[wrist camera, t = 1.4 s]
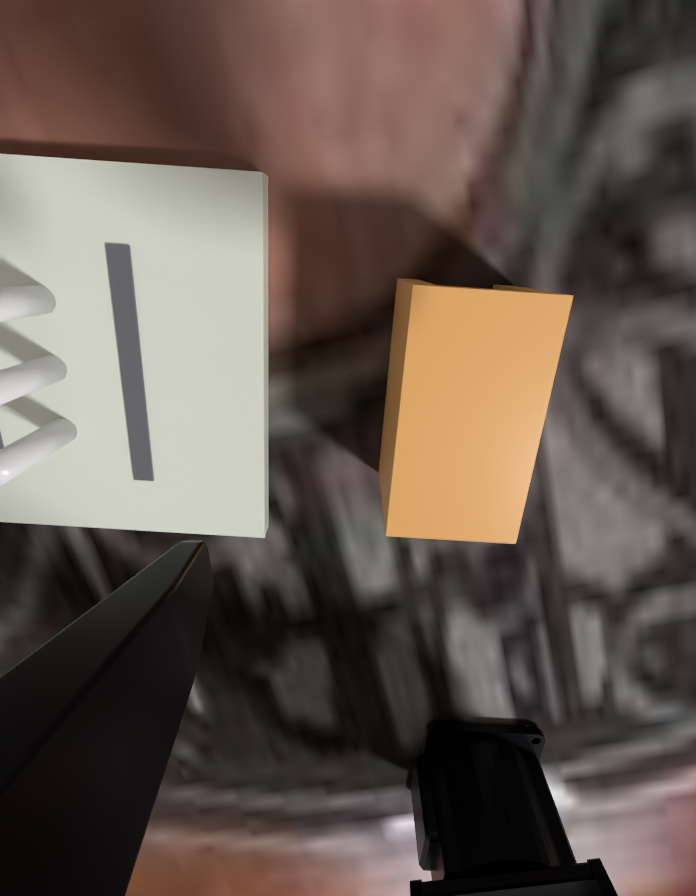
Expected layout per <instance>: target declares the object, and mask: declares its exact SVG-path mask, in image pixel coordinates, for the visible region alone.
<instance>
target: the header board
mask: <svg viewBox="0 0 696 896" xmlns="http://www.w3.org/2000/svg"><path fill="white" fill-rule="evenodd" d="M0 522H10V523H27V524H43V525H60V526H76V527H93V528H109V529H126V530H142V531H159V532H175V533H192V534H208V535H225V536H241V537H258V538H265V535H266V532H267V529H268V526H269V494H268V176H267V175H266V174H264V173H263V172H257V171H242V170H228V169H213V168H199V167H185V166H170V165H156V164H141V163H127V162H113V161H98V160H84V159H69V158H55V157H41V156H26V155H12V154H0Z"/></svg>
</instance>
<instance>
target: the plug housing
mask: <svg viewBox="0 0 696 896" xmlns="http://www.w3.org/2000/svg"><path fill="white" fill-rule="evenodd" d="M572 299H573V295H567V294H561V293H555V292H548V291H542V290H536V289H530V288H524V287H518V286H507V285H493V289H485V288H470V287H455V286H440V285H435V284H432V283H428V282H425V281H422V280H418V279H403V278H397V286H396V296H395V307H394V317H393V328H392V338H391V349H390V359H389V369H388V380H387V390H386V401H385V411H384V422H383V432H382V442H381V453H380V463H379V481H380V489H381V498H382V507H383V516H384V525H385V534H386V536H393V537H410V538H426V539H443V540H459V541H476V542H492V543H508V544H516V541H517V537H518V532H519V528H520V524H521V519H522V515H523V511H524V506H525V502H526V498H527V493H528V489H529V485H530V481H531V476H532V472H533V468H534V463H535V459H536V455H537V450H538V446H539V442H540V437H541V433H542V429H543V424H544V420H545V416H546V412H547V407H548V403H549V399H550V394H551V390H552V386H553V381H554V377H555V373H556V368H557V364H558V360H559V355H560V351H561V347H562V343H563V338H564V334H565V330H566V325H567V321H568V317H569V312H570V308H571V304H572Z"/></svg>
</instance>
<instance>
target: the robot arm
mask: <svg viewBox="0 0 696 896" xmlns="http://www.w3.org/2000/svg"><path fill="white" fill-rule="evenodd" d="M212 592H213V574H212V568H211V563H210V558H209V553H208V548H207V545H206V543H205V542H203V541H181V542H179V543H178V544H176V545H175V546H174V547H172V548H171V549H170V550H168V551H167V552H166V553H164V554H163V555H162V556H160V557H159V558H158V559H156V560H155V561H154V562H152V563H151V564H150V565H148V566H147V567H146V568H144V569H143V570H142V571H140V572H139V573H138V574H136V575H135V576H134V577H132V578H131V579H130V580H128V581H127V582H126V583H124V584H123V585H122V586H120V587H119V588H118V589H116V590H115V591H114V592H112V593H111V594H110V595H108V596H107V597H106V598H104V599H103V600H102V601H100V602H99V603H98V604H96V605H95V606H94V607H93V608H91V609H90V610H89V611H87V612H86V613H85V614H83V615H82V616H81V617H79V618H78V619H77V620H75V621H74V622H73V623H71V624H70V625H69V626H67V627H66V628H65V629H63V630H62V631H61V632H59V633H58V634H57V635H55V636H54V637H53V638H51V639H50V640H49V641H47V642H46V643H45V644H43V645H42V646H41V647H39V648H38V649H37V650H35V651H34V652H33V653H31V654H30V655H29V656H27V657H26V658H25V659H23V660H22V661H21V662H19V663H18V664H17V665H15V666H14V667H13V668H11V669H10V670H9V671H7V672H6V673H5V674H3V675H2V676H1V677H0V896H125V894H126V891H127V888H128V885H129V882H130V879H131V875H132V872H133V869H134V866H135V863H136V860H137V857H138V854H139V851H140V847H141V844H142V841H143V838H144V835H145V832H146V829H147V826H148V822H149V819H150V816H151V813H152V810H153V807H154V804H155V801H156V798H157V794H158V791H159V788H160V785H161V782H162V779H163V776H164V773H165V769H166V766H167V763H168V760H169V757H170V754H171V751H172V748H173V745H174V741H175V738H176V735H177V732H178V729H179V726H180V723H181V720H182V716H183V713H184V710H185V707H186V704H187V701H188V698H189V695H190V692H191V688H192V685H193V682H194V678H195V675H196V671H197V666H198V662H199V657H200V652H201V647H202V642H203V637H204V632H205V627H206V622H207V617H208V612H209V607H210V602H211V597H212ZM544 743H545V737H544V735H543V732H542V731H541V730H540V729H538V728H529V727H511V726H493V725H475V724H458V723H440V722H433V723H430V724H429V725H427V727H426V731H425V736H424V742H423V748H422V753H421V754H419V755H418V756H417V757H416V758H415V763H414V769H413V775H412V781H411V794H412V803H413V812H414V822H415V831H416V840H417V850H418V859H419V865H420V866H421V868H422V869H423V870H428V871H431V875H432V881H427V882H422V880H413V881H410V896H618V895H617V893H616V891H615V889H614V887H613V885H612V883H611V881H610V879H609V877H608V874H607V872H606V870H605V868H604V866H603V864H602V862H601V860H600V859H599V858H597V859H588V860H587V862H586V863H577V862H576V860H575V857H574V854H573V852H572V849H571V846H570V843H569V841H568V838H567V835H566V833H565V830H564V827H563V824H562V822H561V819H560V816H559V814H558V811H557V808H556V805H555V803H554V800H553V797H552V795H551V792H550V789H549V786H548V784H547V781H546V778H545V776H544V773H543V770H542V767H541V765H540V762H539V759H540V756H541V753H542V750H543V747H544Z"/></svg>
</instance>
